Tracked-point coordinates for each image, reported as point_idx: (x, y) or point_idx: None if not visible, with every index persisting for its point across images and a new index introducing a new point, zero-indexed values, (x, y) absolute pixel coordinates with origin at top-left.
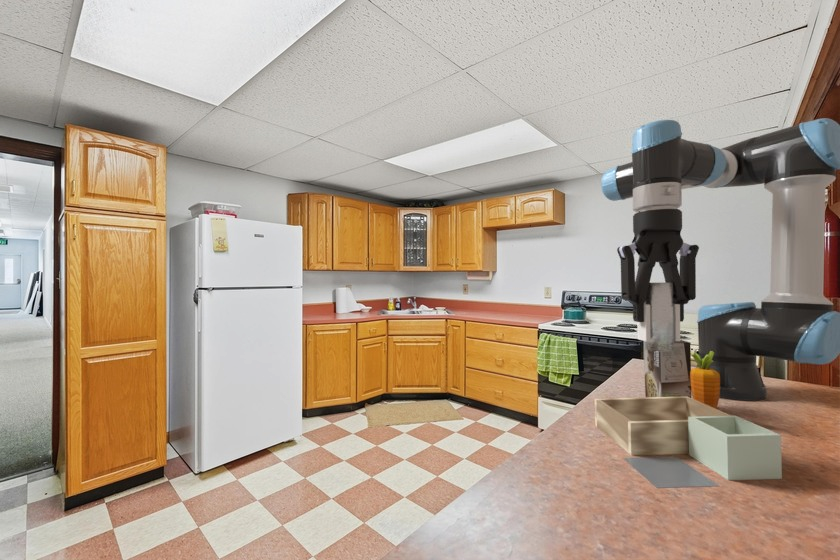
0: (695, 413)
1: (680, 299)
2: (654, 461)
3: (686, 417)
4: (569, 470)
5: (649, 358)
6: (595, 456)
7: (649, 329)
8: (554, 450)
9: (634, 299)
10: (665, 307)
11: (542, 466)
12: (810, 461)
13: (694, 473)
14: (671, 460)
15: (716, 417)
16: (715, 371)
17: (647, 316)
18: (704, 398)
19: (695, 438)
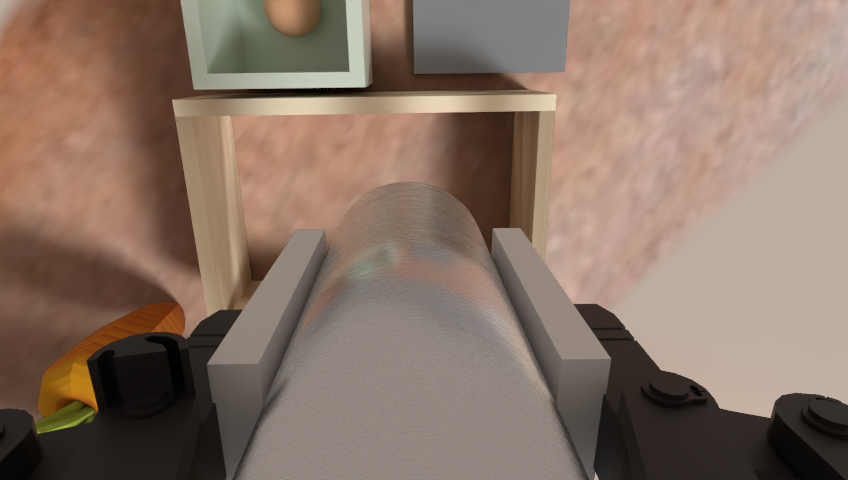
0: (229, 266)
1: (167, 409)
2: (491, 47)
3: (243, 292)
4: (726, 30)
5: None
6: (615, 107)
7: (513, 256)
8: (704, 148)
9: (778, 400)
10: (416, 294)
11: (782, 56)
12: (51, 48)
13: None
14: (442, 51)
15: (271, 75)
16: (50, 384)
17: (554, 299)
18: (156, 324)
19: (367, 53)
